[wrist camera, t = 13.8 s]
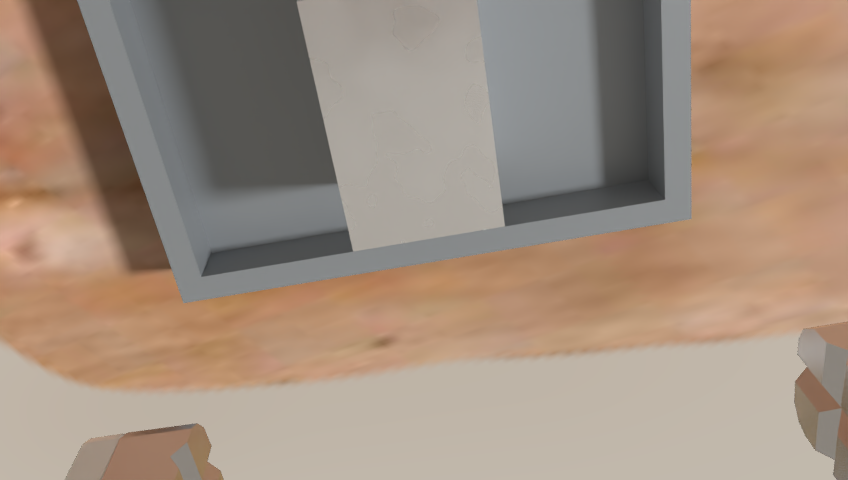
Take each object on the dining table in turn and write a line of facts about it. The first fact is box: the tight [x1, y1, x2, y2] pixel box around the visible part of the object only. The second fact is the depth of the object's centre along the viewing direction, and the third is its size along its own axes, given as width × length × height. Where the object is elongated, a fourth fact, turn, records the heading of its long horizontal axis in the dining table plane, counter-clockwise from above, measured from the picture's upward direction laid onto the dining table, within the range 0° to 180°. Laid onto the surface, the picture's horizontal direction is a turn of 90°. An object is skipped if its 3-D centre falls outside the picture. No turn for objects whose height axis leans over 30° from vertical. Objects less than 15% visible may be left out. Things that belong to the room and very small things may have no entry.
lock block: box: [297, 0, 505, 252], centre depth 26 cm, size 8×5×6 cm, turn 9°
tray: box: [77, 0, 691, 303], centre depth 28 cm, size 14×20×3 cm
